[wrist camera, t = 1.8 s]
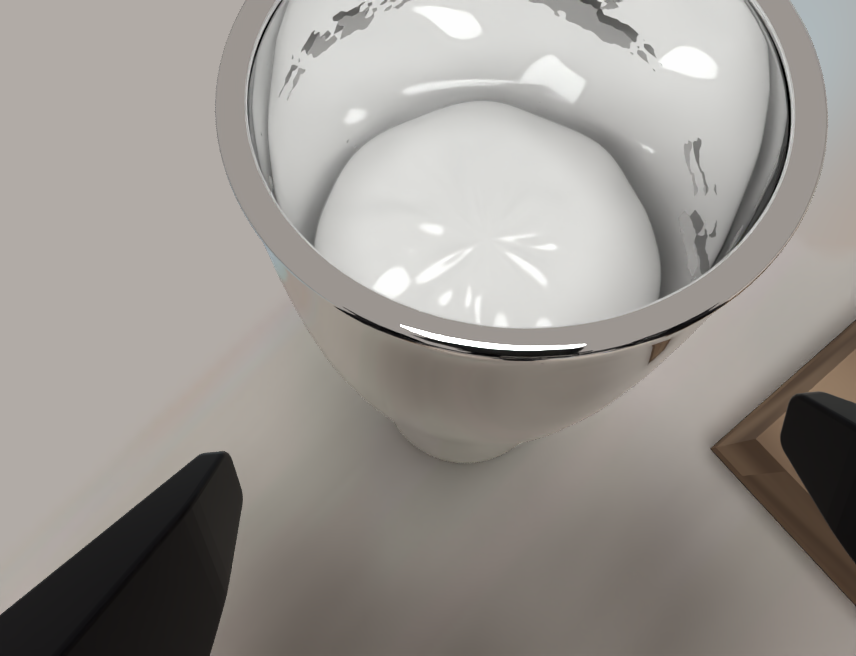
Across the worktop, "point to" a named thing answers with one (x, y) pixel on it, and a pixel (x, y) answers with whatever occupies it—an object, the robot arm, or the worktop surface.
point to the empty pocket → (771, 469)
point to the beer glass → (516, 190)
